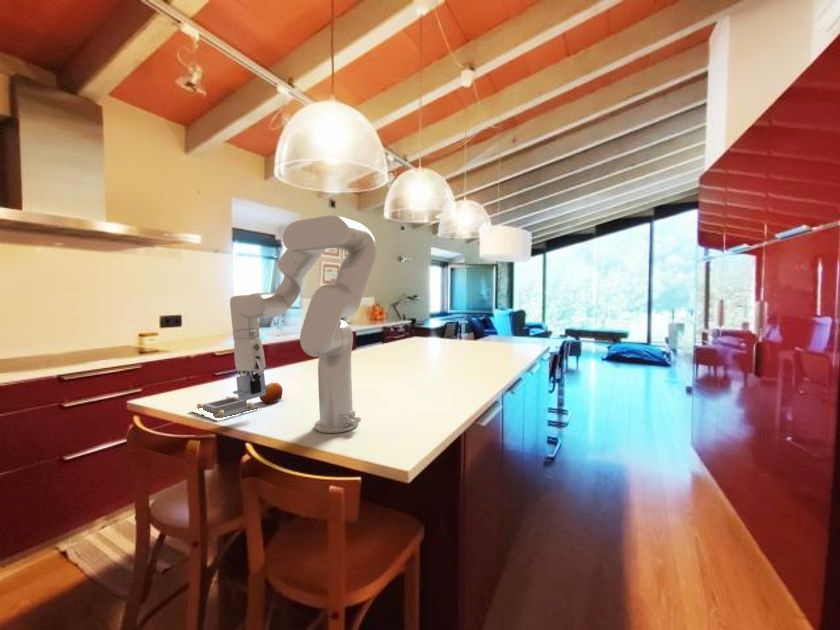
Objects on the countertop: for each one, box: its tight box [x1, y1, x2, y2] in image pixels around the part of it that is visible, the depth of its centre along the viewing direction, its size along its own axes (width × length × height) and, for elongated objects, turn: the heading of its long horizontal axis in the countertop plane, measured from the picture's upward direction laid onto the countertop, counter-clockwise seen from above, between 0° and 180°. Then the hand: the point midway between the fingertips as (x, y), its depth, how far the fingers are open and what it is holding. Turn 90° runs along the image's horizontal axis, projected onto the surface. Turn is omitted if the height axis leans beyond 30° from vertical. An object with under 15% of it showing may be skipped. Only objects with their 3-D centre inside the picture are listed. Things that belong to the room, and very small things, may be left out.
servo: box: [232, 372, 270, 401], centre depth 123 cm, size 4×10×8 cm, turn 144°
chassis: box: [196, 395, 260, 418], centre depth 133 cm, size 18×14×3 cm
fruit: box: [259, 382, 284, 404], centre depth 142 cm, size 8×8×8 cm
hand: (251, 391), depth 123 cm, fingers closed on servo, 4 cm apart
